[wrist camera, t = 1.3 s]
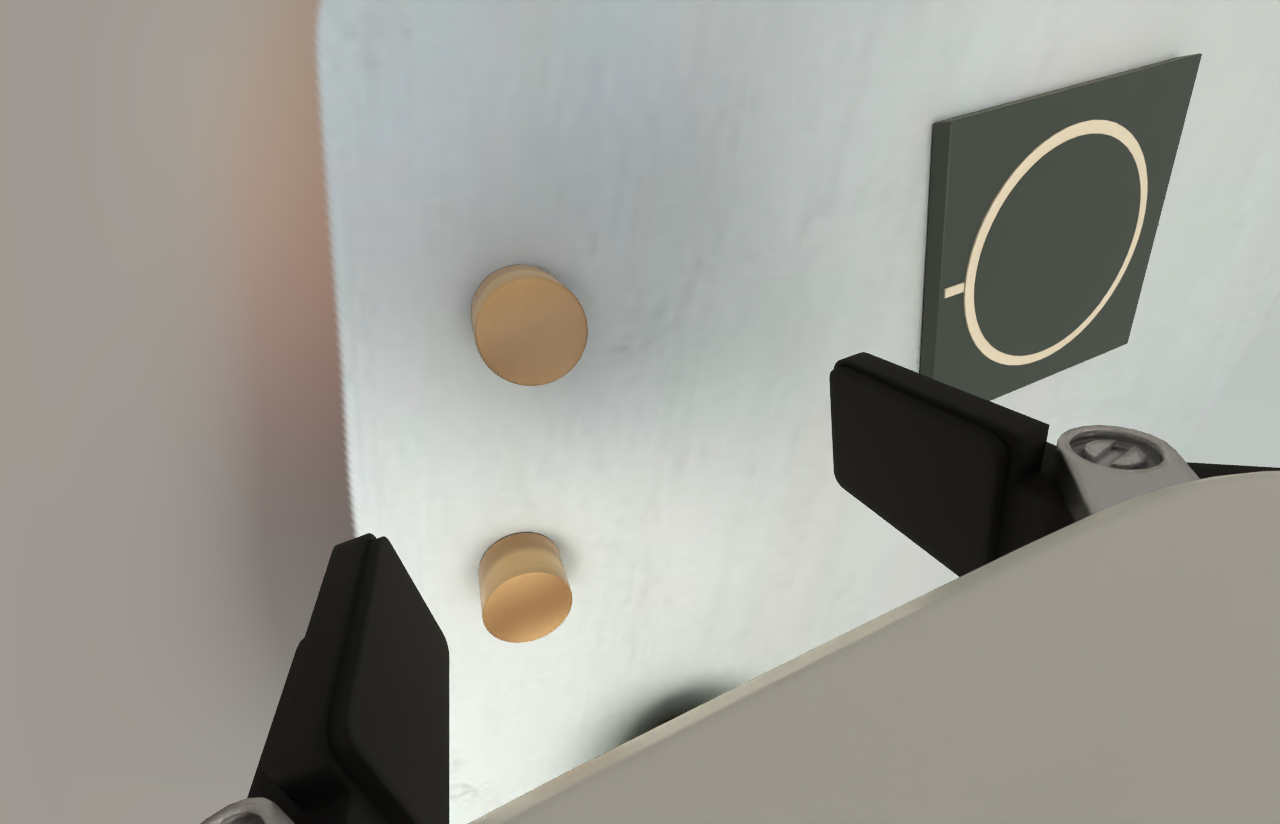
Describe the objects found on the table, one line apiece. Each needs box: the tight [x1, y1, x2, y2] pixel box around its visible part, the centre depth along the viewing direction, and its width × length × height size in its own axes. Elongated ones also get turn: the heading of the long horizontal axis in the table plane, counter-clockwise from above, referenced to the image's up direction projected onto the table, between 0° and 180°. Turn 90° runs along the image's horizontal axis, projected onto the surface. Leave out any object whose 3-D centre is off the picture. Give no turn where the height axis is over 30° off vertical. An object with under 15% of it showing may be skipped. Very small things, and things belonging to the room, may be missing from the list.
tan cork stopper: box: [479, 533, 572, 643], centre depth 24 cm, size 4×4×3 cm
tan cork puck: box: [471, 265, 588, 386], centre depth 20 cm, size 4×4×3 cm
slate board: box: [920, 54, 1202, 401], centre depth 28 cm, size 16×16×1 cm
